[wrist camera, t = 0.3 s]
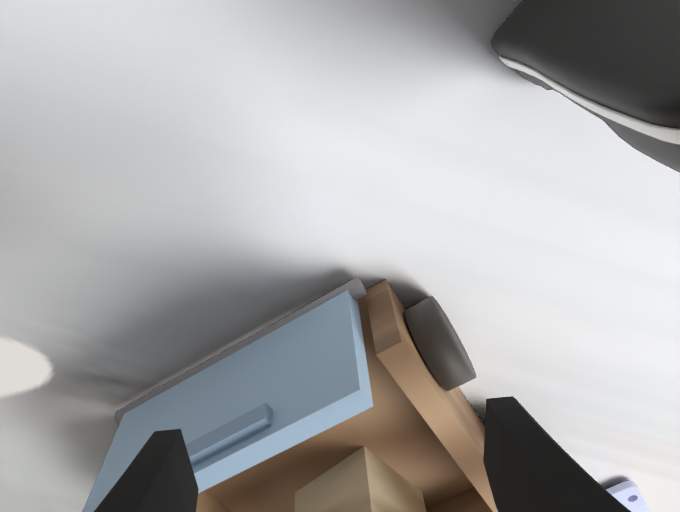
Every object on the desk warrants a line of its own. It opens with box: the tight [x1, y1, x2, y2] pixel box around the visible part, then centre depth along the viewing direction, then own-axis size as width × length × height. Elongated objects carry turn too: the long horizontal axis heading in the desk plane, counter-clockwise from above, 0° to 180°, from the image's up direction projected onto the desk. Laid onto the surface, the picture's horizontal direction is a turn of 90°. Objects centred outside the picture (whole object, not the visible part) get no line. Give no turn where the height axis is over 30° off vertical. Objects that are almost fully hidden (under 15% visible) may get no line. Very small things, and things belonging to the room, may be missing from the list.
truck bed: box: [196, 279, 498, 512], centre depth 24 cm, size 14×17×4 cm
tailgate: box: [82, 277, 373, 512], centre depth 20 cm, size 1×12×6 cm, turn 121°
